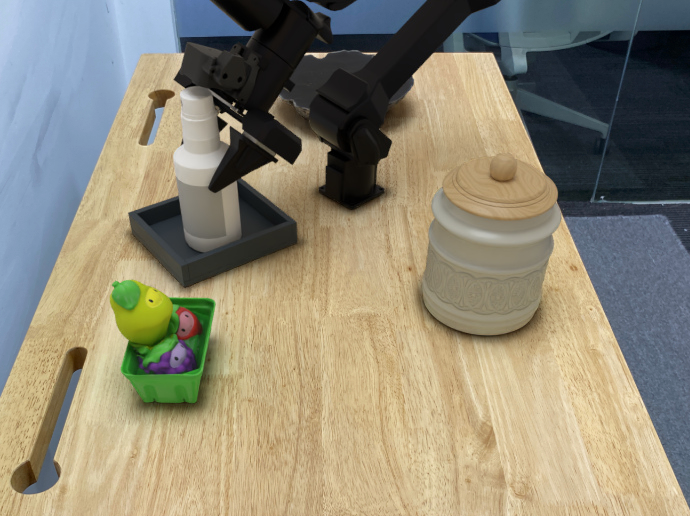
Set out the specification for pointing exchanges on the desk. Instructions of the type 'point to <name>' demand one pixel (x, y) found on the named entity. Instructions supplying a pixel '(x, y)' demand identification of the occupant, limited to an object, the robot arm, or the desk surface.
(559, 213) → the jar
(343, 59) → the bowl
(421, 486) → the desk surface
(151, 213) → the tray
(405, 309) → the desk surface
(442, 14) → the robot arm
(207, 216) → the spray bottle
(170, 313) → the fruit basket
